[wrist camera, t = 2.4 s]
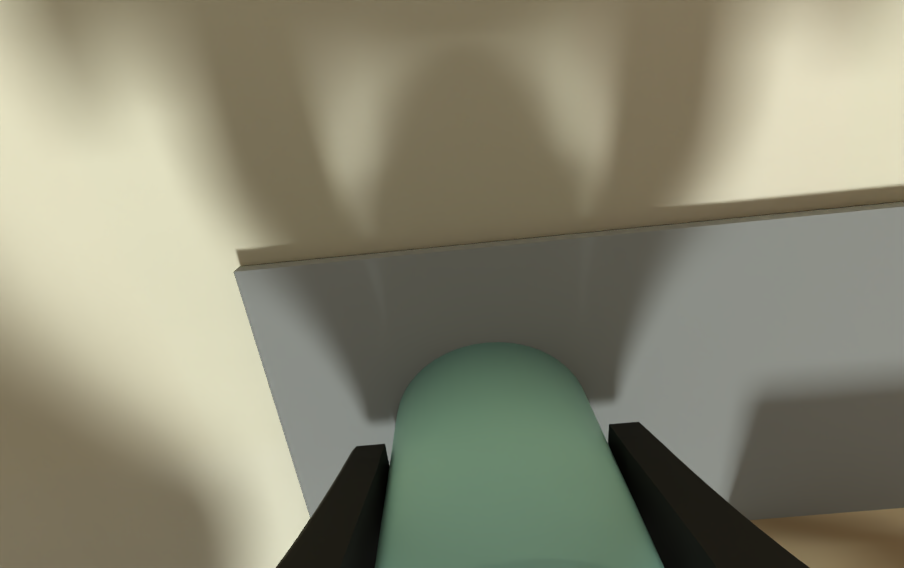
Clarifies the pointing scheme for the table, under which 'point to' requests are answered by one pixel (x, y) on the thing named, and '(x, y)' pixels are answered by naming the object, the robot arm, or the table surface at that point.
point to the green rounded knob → (505, 471)
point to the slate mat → (625, 345)
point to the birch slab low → (842, 538)
